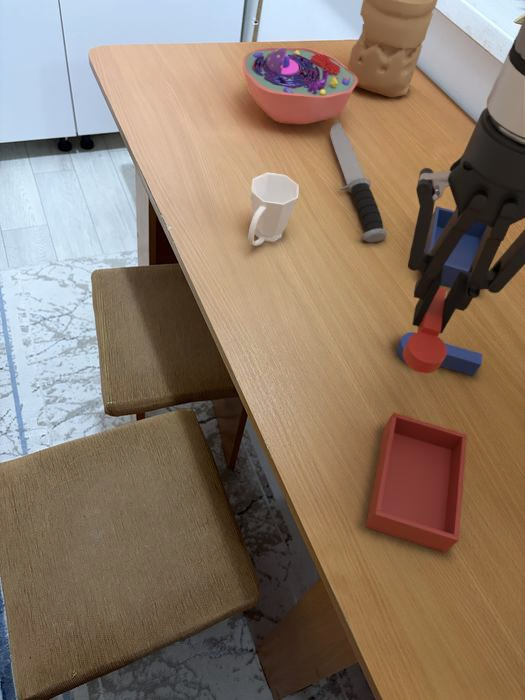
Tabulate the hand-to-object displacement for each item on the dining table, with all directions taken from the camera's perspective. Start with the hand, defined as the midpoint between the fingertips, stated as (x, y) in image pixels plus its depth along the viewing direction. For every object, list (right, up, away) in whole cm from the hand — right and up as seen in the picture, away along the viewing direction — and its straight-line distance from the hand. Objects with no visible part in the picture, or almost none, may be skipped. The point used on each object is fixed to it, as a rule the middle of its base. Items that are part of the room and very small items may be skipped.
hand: (428, 319), depth 63 cm
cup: (-18, +13, +23) cm, 32 cm away
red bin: (-1, -18, +2) cm, 18 cm away
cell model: (-12, +39, +43) cm, 60 cm away
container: (+5, +49, +53) cm, 72 cm away
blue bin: (+11, +11, +25) cm, 29 cm away
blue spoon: (+4, -4, +13) cm, 14 cm away
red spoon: (-1, -2, -1) cm, 2 cm away
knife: (-4, +24, +33) cm, 41 cm away
